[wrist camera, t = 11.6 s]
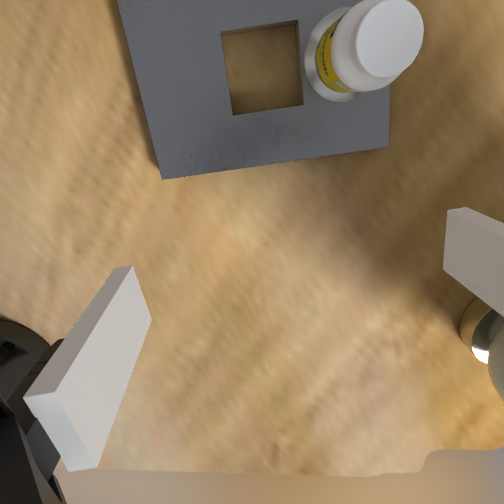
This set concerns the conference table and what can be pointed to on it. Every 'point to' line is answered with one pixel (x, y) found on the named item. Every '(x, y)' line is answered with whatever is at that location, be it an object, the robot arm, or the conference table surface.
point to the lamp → (485, 339)
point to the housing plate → (218, 94)
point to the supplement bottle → (369, 45)
